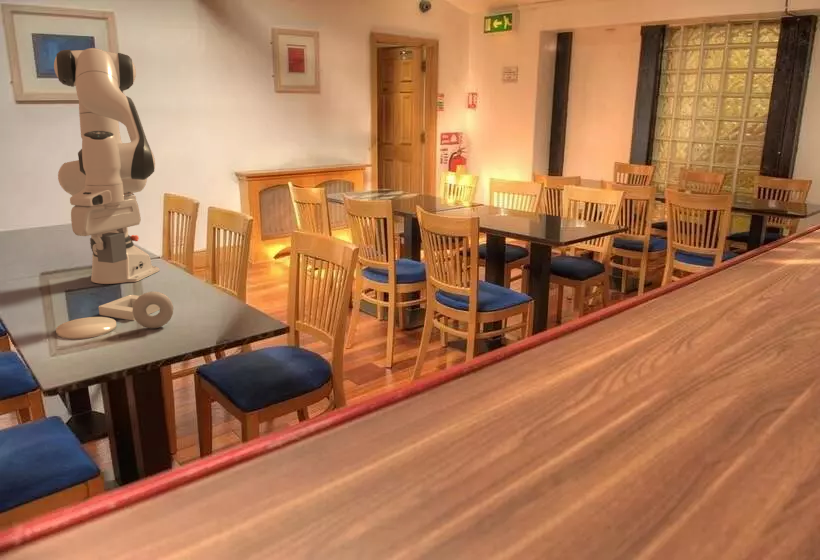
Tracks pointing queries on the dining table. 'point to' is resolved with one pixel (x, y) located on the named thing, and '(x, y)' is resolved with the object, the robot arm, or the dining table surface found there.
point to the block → (113, 248)
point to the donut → (149, 299)
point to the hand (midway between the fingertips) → (111, 247)
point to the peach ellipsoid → (86, 327)
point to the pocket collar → (123, 308)
